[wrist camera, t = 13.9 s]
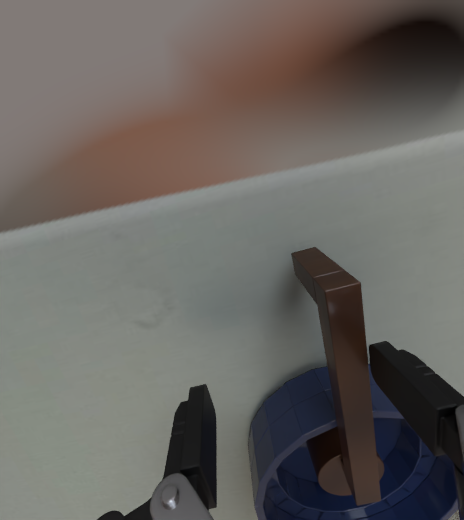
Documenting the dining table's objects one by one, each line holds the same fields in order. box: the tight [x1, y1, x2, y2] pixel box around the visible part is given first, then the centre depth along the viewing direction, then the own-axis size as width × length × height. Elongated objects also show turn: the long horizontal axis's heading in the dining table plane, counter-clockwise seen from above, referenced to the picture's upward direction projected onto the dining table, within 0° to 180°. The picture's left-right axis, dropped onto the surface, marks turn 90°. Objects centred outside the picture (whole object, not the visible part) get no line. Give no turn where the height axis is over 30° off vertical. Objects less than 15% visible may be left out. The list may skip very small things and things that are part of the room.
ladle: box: [291, 247, 384, 506], centre depth 17 cm, size 21×5×6 cm, turn 15°
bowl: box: [248, 364, 458, 520], centre depth 20 cm, size 16×16×5 cm
